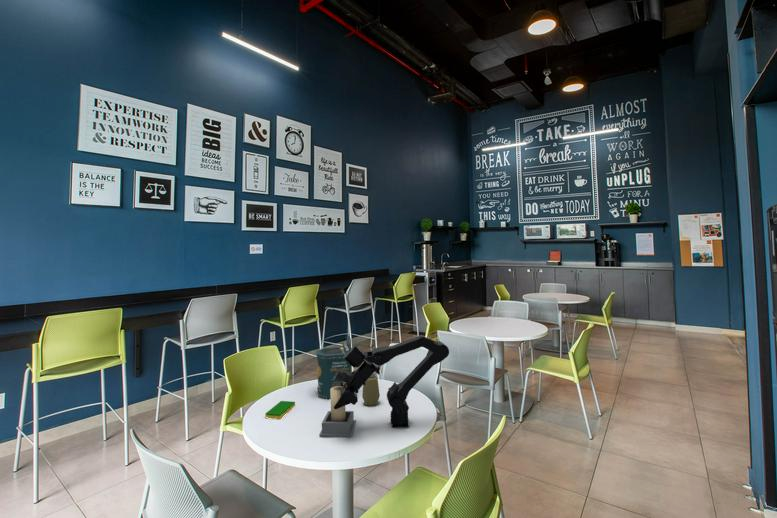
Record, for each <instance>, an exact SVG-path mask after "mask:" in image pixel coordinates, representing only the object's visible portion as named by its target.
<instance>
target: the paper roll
mask: <svg viewBox="0 0 777 518" xmlns="http://www.w3.org/2000/svg"><path fill="white" fill-rule="evenodd" d="M343 389H344V387H342V386H335V387H332V388H331V389H330V396H331V400H330V411H331V422H346V413H345V411H346V405H345V406H343V407H340V408H338V409H336V410H335V409H334V406H335V404H336V403H337V401H338V400H339V398H340V397H341V390H342V391H343Z"/></svg>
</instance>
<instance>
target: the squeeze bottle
mask: <svg viewBox="0 0 777 518" xmlns="http://www.w3.org/2000/svg"><path fill="white" fill-rule="evenodd" d="M376 374H377V373H376V372H374V373H373V374H372V375H371V376H370V378H369V379H368V380H367V381H366V384H365V385H362V395H361V396H362V399H363V402H364V405H365V406H370V407H371V406H372V407H374V406H376V405H378V403H379V399H380V396H381V395H380V386H379V380H378V379H379V378H378V376H377V375H376Z"/></svg>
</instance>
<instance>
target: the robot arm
mask: <svg viewBox="0 0 777 518" xmlns="http://www.w3.org/2000/svg"><path fill="white" fill-rule="evenodd" d="M420 348H424V349H426V350H427V353H426V356H425V357H424V358H423V359H422V360H421V361H420V362H419V363H418V364H417V365H416V366H415V368H414V369H412V371H411V372H410V373H409V374H408V375H407V376H406V377H405V378H404V379H403V380H402V381H401V382H399V383H396V381H394V383H392V385H391V386H390V387H388V388H387V390H388V391H387V392H386V399H387V402H388V405H389V406H390V407H391V411H390V424H391V428H409V420H410V419H409V409H410V406H409V404H408V402H407V398H408V395H409V393H410V391H411V390H412V389H413V388H414V387H415V386H416V385H417V384H418V382H419V381H420V380H422V378H424V377H425V375H426V374H427V373H428V372H429V371H430V370H431V369H432V368H433V366H435V365H437V364H440V363H441V362H442V361H444V360H445V359H447V358H448V356H449V354H450V349H449V347H448V346H447V345H446V344H445V343H444V342H442V341H441V340H440V341H439V340H436V341H435V340H433V339H431V338H429V337H426V336H425V335H423V334H420V335H417V336H415V337H413V338H410V339H407V340H405V341H401V342H399V343H397V344H393V345H389V346H388V345H387V346H380V347H375V348H373V349H372V350H371V351H370V350H369V351H365V352H363V351H362V350H361V349H359V347H358V346H357V345H354V346H353V347H352V346H351V349H350V350H348V351H347V352H346V354H345V355H344V357H343V359H345V360H346V361H347V362H348V363H349V364H350V365H351V368H357V369H356V370H353V371H351V373H350V372H348V371H346V370H343V369H340V368H338V370H337V372H336V375H335V379H337V380H341V381H343V383H342V382H341V386H342V387H344V389H343V391H342V390H341V397H340V398H339V400H338V401H337V403H336V404H335V406H334V409H335V410H336V409H338V408H340V407H343V406H345V407H346V406H347V405H350V404H351V405H352V406H355V405H356V404H357V403H358V399H359V398H358V394H359V392H360V391H359V390H360V389H361V388H363V385H365V384H366V381H367V380H368V379H369V378H370V376H371V375H372V374H373V373H374V372H375V374H377V375H379V376H380V374H381V372H380V369H381V367H382V366H384V365H385V364H387V363H388V362H390V361H392V360H393V359H394V358H395V357H398V356H400V355H403V354H406V353H409V352H411V351H415V350H417V349H420ZM380 366H381V367H380Z"/></svg>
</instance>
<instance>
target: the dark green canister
mask: <svg viewBox="0 0 777 518" xmlns="http://www.w3.org/2000/svg"><path fill="white" fill-rule="evenodd" d="M351 348H352V338H351V337H350V335H349V334H348V332H346V341H345V342H343V343H342V346H331V347H324V348H320V349H317V350H316V360H317V389H316V390H317V398H318V399H323V400H326V399H327V400H328V401H330V400H329V399H331V396H330V389H331V388H332V387H335V386H341V382H342V383H343V381H341V380H337V379H335V375H336V372H337V370H338V368H340V369H343V370H346V371H348V372H350V373H352V366H351V365H350V364H349V363H348V362H347V361H346V360H345V359H343V357H344V355H345V354H346V352H347V351H348V350H350V349H351ZM327 400H326V401H327Z"/></svg>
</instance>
